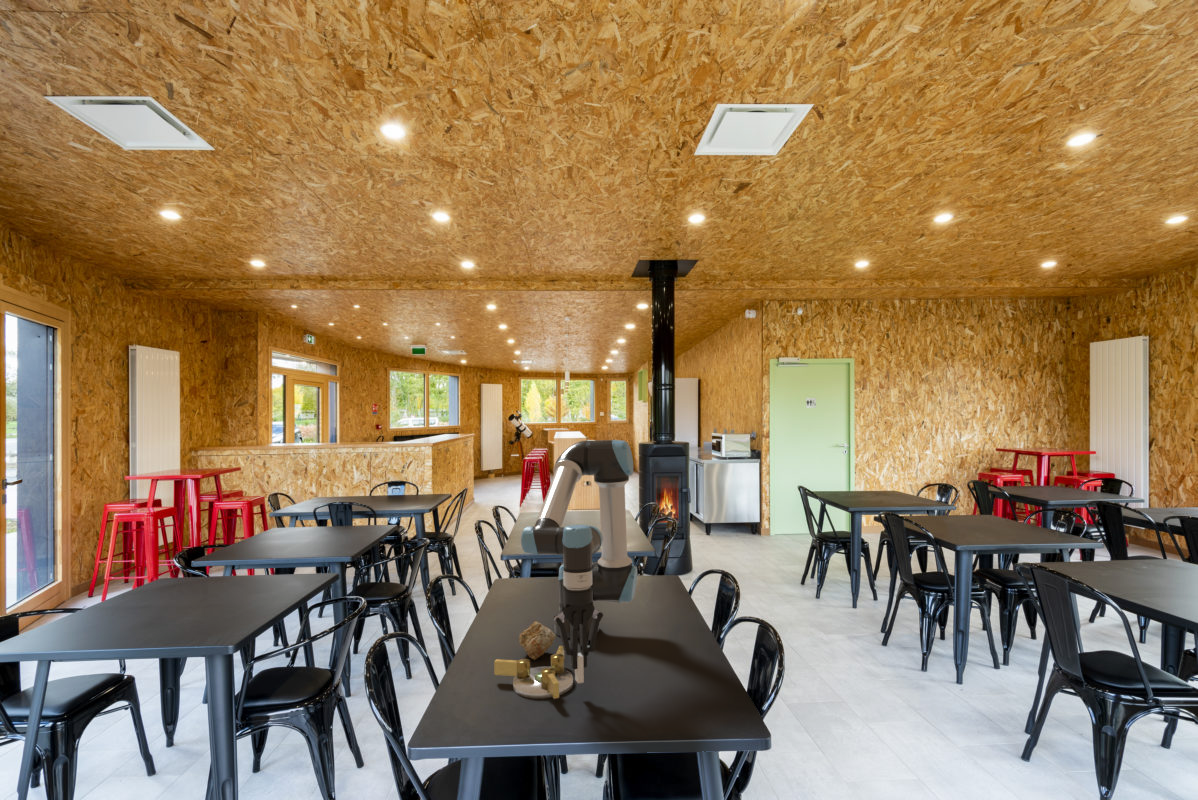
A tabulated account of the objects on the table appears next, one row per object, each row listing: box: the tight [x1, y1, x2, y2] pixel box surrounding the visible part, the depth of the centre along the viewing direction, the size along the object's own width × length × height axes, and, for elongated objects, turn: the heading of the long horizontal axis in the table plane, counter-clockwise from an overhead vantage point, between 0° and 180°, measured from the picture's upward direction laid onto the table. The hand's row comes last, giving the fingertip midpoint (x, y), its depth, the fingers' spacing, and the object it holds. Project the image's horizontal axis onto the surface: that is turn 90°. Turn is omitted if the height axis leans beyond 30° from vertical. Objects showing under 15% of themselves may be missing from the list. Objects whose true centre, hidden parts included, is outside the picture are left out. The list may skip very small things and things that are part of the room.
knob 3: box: [550, 645, 565, 674], centre depth 162 cm, size 10×4×4 cm, turn 175°
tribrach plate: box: [512, 665, 574, 700], centre depth 154 cm, size 16×16×3 cm
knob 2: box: [541, 668, 560, 700], centre depth 146 cm, size 10×4×4 cm, turn 20°
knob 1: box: [493, 658, 531, 679], centre depth 156 cm, size 10×4×4 cm, turn 80°
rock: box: [518, 621, 557, 661], centre depth 174 cm, size 12×10×10 cm
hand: (579, 680), depth 147 cm, fingers closed
